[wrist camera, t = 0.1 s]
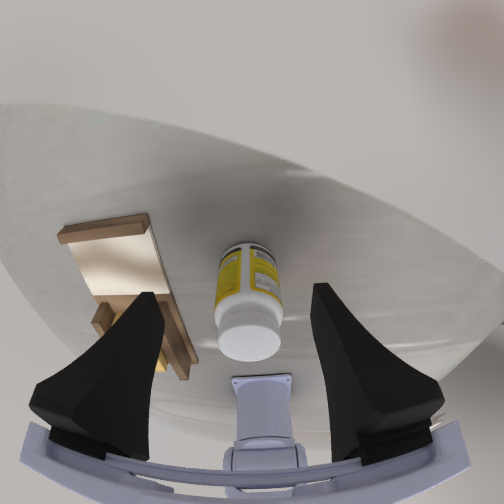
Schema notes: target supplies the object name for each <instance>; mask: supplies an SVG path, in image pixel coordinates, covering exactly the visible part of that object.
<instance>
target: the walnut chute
mask: <svg viewBox="0 0 504 504" xmlns="http://www.w3.org/2000/svg"><path fill="white" fill-rule="evenodd" d="M57 237H58V240H59V242H60V244H68V245H69V247H70V249H71V252H72V254H73V256H74V258H75V260H76V263H77V265H78V267H79V269H80V271H81V273H82V275H83V277H84V279H85V281H86V283H87V285H88V287H89V289H90V291H91V293H92V294H93V296H94V298H95V300H96V302H97V304H98V305H99V307H98V309H97V311H96V314H95V316H94V318H93V320H92V322H91V324H92V325H93V327H94V328H95V330H96V332H97V333H98V335H99V336H100V338H101V337H102V336H103V335H104V334H105V333H106V332H107V331H108V329H109V328H110V327H111V325H112V323H113V320H114V318H115V316H116V313H117V312H125V310H126V309H127V308H128V307H129V306H130V305H131V303H132V302H133V301H134V300H135V299H136V298H137V296H138V295H139V294H140V293H141V292H152V291H154V294H155V297H156V299H157V302H158V304H159V307H160V310H161V312H162V315H163V317H164V319H165V328H164V336H163V342H162V346H161V347H162V349H163V351H164V353H165V354H166V356H167V358H168V363H171V365H172V367H173V369H174V370H175V372H176V374H177V376H178V377H179V379H180V380H189V373H190V366H191V364H198V358H197V356H196V354H195V351H194V349H193V346H192V344H191V341H190V339H189V336H188V334H187V331H186V329H185V326H184V324H183V321H182V319H181V316H180V313H179V311H178V308H177V305H176V303H175V300H174V297H173V294H172V291H171V289H170V286H169V283H168V280H167V277H166V274H165V271H164V268H163V265H162V262H161V259H160V256H159V252H158V249H157V246H156V243H155V239H154V236H153V233H152V229H151V226H150V222H149V219H148V215H147V214H140V215H133V216H126V217H119V218H113V219H106V220H100V221H94V222H88V223H82V224H76V225H70V226H65V227H64V228H63V229H62V230H61V231H60V232H59V233H58V234H57Z"/></svg>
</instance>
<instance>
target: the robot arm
mask: <svg viewBox="0 0 504 504" xmlns="http://www.w3.org/2000/svg"><path fill="white" fill-rule="evenodd" d="M310 318H311V325H312V331H313V337H314V341H315V344H316V348H317V352H318V356H319V359H320V363H321V367H322V371H323V375H324V379H325V385H326V392H327V400H328V409H329V418H330V431H331V451H332V463H329V464H322V465H315V466H308V467H307V458H306V452H305V448H304V447H303V446H302V445H301V444H300V443H297V444H295V439H294V438H293V435H292V424H291V413H290V395H291V381H292V376H291V375H290V374H284V375H271V376H255V377H234V378H232V379H231V381H232V385H233V388H234V391H235V394H236V397H237V441H234V447H229V449H228V450H227V451H226V452H225V454H224V460H223V470H207V469H195V468H185V467H177V466H169V465H162V464H156V463H150V462H146V461H147V460H148V459H149V442H148V424H149V406H150V396H151V387H152V382H153V377H154V373H155V369H156V365H157V361H158V358H159V354H160V350H161V346H162V342H163V336H164V328H165V319H164V317H163V315H162V312H161V310H160V307H159V304H158V302H157V299H156V297H155V294H154V291H152V292H141V293H140V294H139V295H138V296H137V298H136V299H135V300H134V301H133V302H132V303H131V305H130V306H129V307H128V308H127V309H126V310H125V312H124V313H123V314H122V315H121V316H120V317H119V318H118V320H117V321H116V322H115V323H114V324H113V325H112V326H111V327H110V328H109V329H108V331H107V332H106V333H105V334H104V335H103V336H102V337H101V338H100V339H99V340H98V341H97V342H96V343H95V344H94V345H93V346H92V347H90V348H89V349H88V350H87V351H86V352H85V353H84V354H82V355H81V356H80V357H79V358H77V359H76V360H75V361H73V362H72V363H71V364H70V365H68V366H67V367H65V368H64V369H63V370H61V371H59V372H58V373H56V374H54V375H53V376H51V377H49V378H47V379H45V380H44V381H42V382H40V383H38V384H37V385H36V387H35V390H34V392H33V395H32V397H31V400H30V403H29V407H30V409H31V410H32V411H33V412H34V413H35V414H36V415H38V416H39V417H40V418H42V419H43V420H44V421H46V422H47V423H48V424H50V425H51V426H52V427H51V431H50V430H48V429H47V428H45V427H42V426H40V425H38V424H36V423H33V422H30V424H29V427H28V430H27V434H26V437H25V440H24V444H23V447H22V451H21V455H20V459H19V461H20V462H21V463H22V464H24V465H25V466H27V467H29V468H30V469H32V470H34V471H35V472H38V473H39V474H41V475H42V476H44V477H46V478H48V479H50V480H51V481H53V482H55V483H57V484H59V485H60V486H62V487H65V488H66V489H68V490H70V491H72V492H74V493H77V494H79V495H81V496H83V497H85V498H88V499H90V500H92V501H95V502H97V503H99V504H396V503H398V502H401V501H404V500H406V499H408V498H411V497H413V496H416V495H418V494H420V493H422V492H424V491H426V490H429V489H431V488H432V487H435V486H437V485H439V484H441V483H443V482H445V481H447V480H449V479H450V478H452V477H454V476H456V475H458V474H460V473H461V472H463V471H465V470H467V469H468V468H470V467H471V463H470V459H469V455H468V452H467V448H466V445H465V441H464V438H463V435H462V432H461V429H460V426H459V423H458V421H454V422H451V423H449V424H447V425H445V426H443V427H440V428H438V429H436V430H434V431H432V432H430V429H429V427H430V426H431V425H432V423H431V419H430V417H431V416H432V415H433V414H434V413H436V412H437V411H438V410H439V409H440V408H441V407H442V405H443V404H444V401H445V399H444V396H443V393H442V391H441V388H440V386H439V384H438V382H437V381H436V380H434V379H432V378H431V377H429V376H427V375H425V374H423V373H421V372H419V371H418V370H416V369H414V368H413V367H411V366H410V365H408V364H407V363H405V362H404V361H402V360H401V359H400V358H398V357H397V356H396V355H394V354H393V353H392V352H390V351H389V350H388V349H387V348H386V347H384V346H383V345H382V344H381V343H380V342H379V341H378V340H376V339H375V338H374V337H373V336H372V335H371V334H370V333H369V332H368V331H367V330H366V329H365V328H364V327H363V325H362V324H361V323H360V322H359V321H358V320H357V319H356V318H355V317H354V315H353V314H352V313H351V312H350V311H349V310H348V308H347V307H346V306H345V305H344V303H343V302H342V301H341V300H340V298H339V297H338V296H337V294H336V293H335V292H334V290H333V289H332V288H331V286H330V285H329V284H328V283H315V284H314V286H313V295H312V304H311V313H310ZM134 474H135V475H140V476H144V477H150V478H154V479H160V480H166V481H173V482H181V483H188V484H198V485H209V486H225V494H226V495H227V497H228V498H213V497H200V496H191V495H183V494H174V489H173V488H171V487H168V486H164V485H161V484H159V483H157V482H155V481H151V480H147V479H143V478H139V477H136V476H135V475H134ZM329 479H331V480H330V481H325V482H320V483H314V484H310V485H307V483H310V482H317V481H323V480H329ZM284 487H294V488H292V489H290V490H287V491H276V492H252V493H247V492H243V491H242V490H241V489H267V488H268V489H269V488H284Z"/></svg>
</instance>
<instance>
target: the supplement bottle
mask: <svg viewBox="0 0 504 504" xmlns="http://www.w3.org/2000/svg"><path fill="white" fill-rule="evenodd" d="M214 319H215V323H216V325H217V327H218V347H219V349H220V350H221V352H222V353H223V354H224V355H226V356H227V357H229V358H231V359H234V360H237V361H244V362H254V361H260V360H264V359H266V358H268V357H270V356H272V355H273V354H275V353H276V352H277V351H278V349H279V347H280V344H281V338H280V325H281V323H282V320H283V307H282V300H281V293H280V286H279V280H278V274H277V267H276V262H275V259H274V257H273V255H272V253H271V252H270V251H269V250H268V249H266V248H265V247H263V246H261V245H258V244H253V243H244V244H239V245H236V246H234V247H232V248H230V249H229V250H227V251H226V252H225V253H224V255H223V256H222V258H221V261H220V266H219V274H218V283H217V292H216V301H215V310H214Z"/></svg>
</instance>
